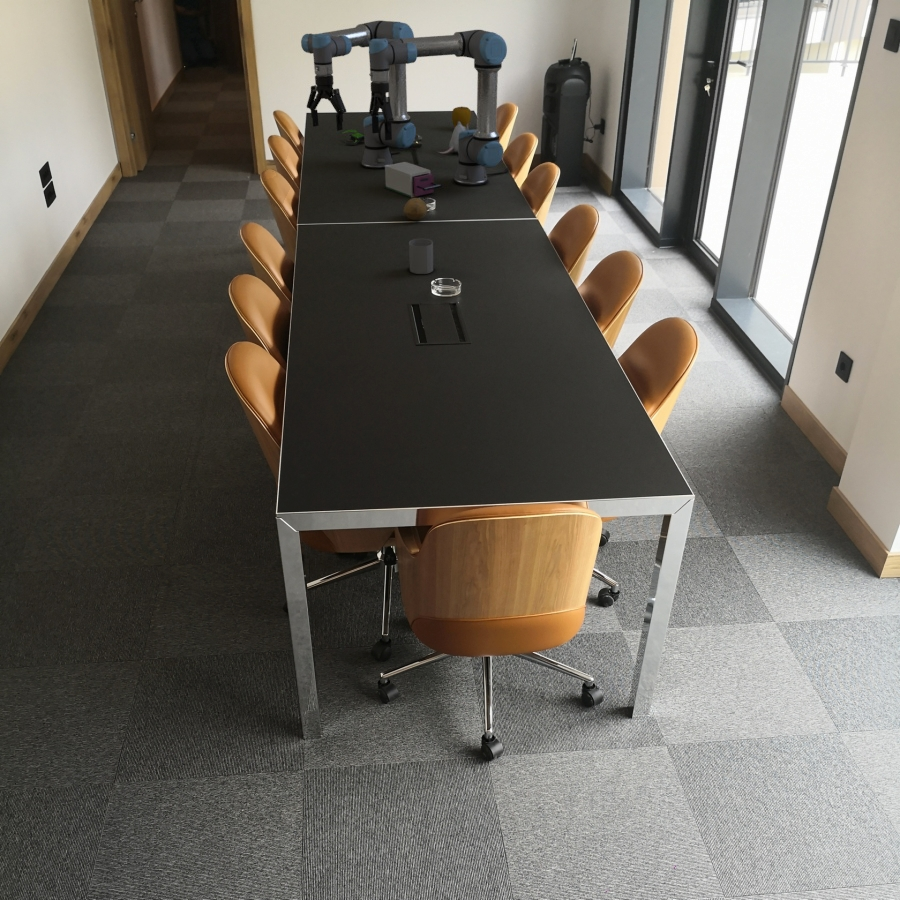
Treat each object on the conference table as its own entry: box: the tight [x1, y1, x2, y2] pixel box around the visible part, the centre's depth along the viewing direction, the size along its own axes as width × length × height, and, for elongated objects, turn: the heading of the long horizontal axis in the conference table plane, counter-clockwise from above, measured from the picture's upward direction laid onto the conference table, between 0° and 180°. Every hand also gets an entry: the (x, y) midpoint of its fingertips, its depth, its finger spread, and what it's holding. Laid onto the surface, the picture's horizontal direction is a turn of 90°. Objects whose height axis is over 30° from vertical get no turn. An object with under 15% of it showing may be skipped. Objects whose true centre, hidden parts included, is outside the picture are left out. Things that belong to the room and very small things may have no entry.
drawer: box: [412, 173, 441, 197], centre depth 384 cm, size 23×10×8 cm, turn 39°
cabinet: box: [384, 161, 432, 199], centre depth 389 cm, size 19×11×10 cm, turn 39°
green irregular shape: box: [340, 129, 364, 146], centre depth 465 cm, size 6×13×30 cm
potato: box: [403, 197, 428, 221], centre depth 354 cm, size 10×14×8 cm
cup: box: [408, 237, 434, 275], centre depth 305 cm, size 8×8×10 cm
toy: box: [437, 121, 470, 155], centre depth 440 cm, size 9×24×15 cm, turn 137°
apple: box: [451, 105, 472, 129], centre depth 487 cm, size 11×11×13 cm
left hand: (327, 128), depth 372 cm, fingers open, 13 cm apart
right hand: (382, 136), depth 360 cm, fingers open, 13 cm apart
